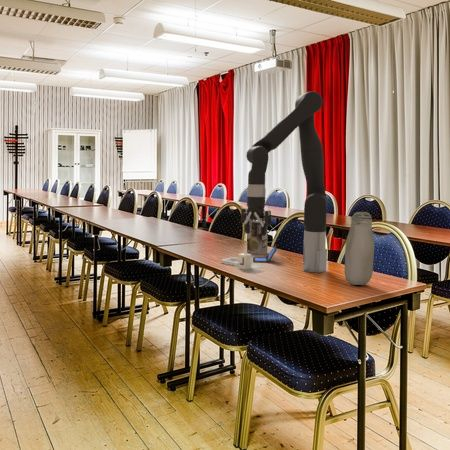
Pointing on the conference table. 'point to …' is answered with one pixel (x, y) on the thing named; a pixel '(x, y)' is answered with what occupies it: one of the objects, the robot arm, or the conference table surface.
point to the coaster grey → (254, 271)
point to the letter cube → (244, 261)
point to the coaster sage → (256, 266)
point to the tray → (230, 261)
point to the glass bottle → (359, 250)
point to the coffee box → (256, 239)
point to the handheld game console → (265, 259)
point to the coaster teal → (244, 269)
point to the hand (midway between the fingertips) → (255, 234)
